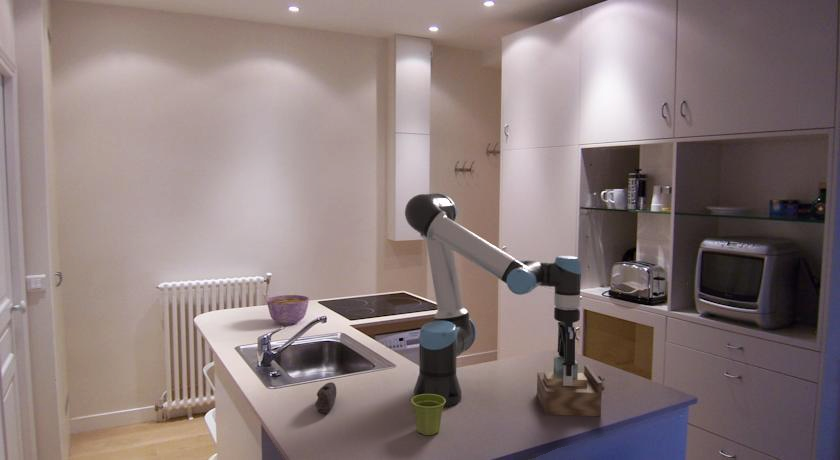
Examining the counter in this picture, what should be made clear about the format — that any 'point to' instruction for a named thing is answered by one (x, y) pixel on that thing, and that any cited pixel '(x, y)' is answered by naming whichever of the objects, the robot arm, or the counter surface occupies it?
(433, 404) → the plant pot
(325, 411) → the perforated stone tool
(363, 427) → the counter surface
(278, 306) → the bowl of food
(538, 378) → the dock
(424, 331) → the robot arm
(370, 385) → the counter surface
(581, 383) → the blue cube on tile
